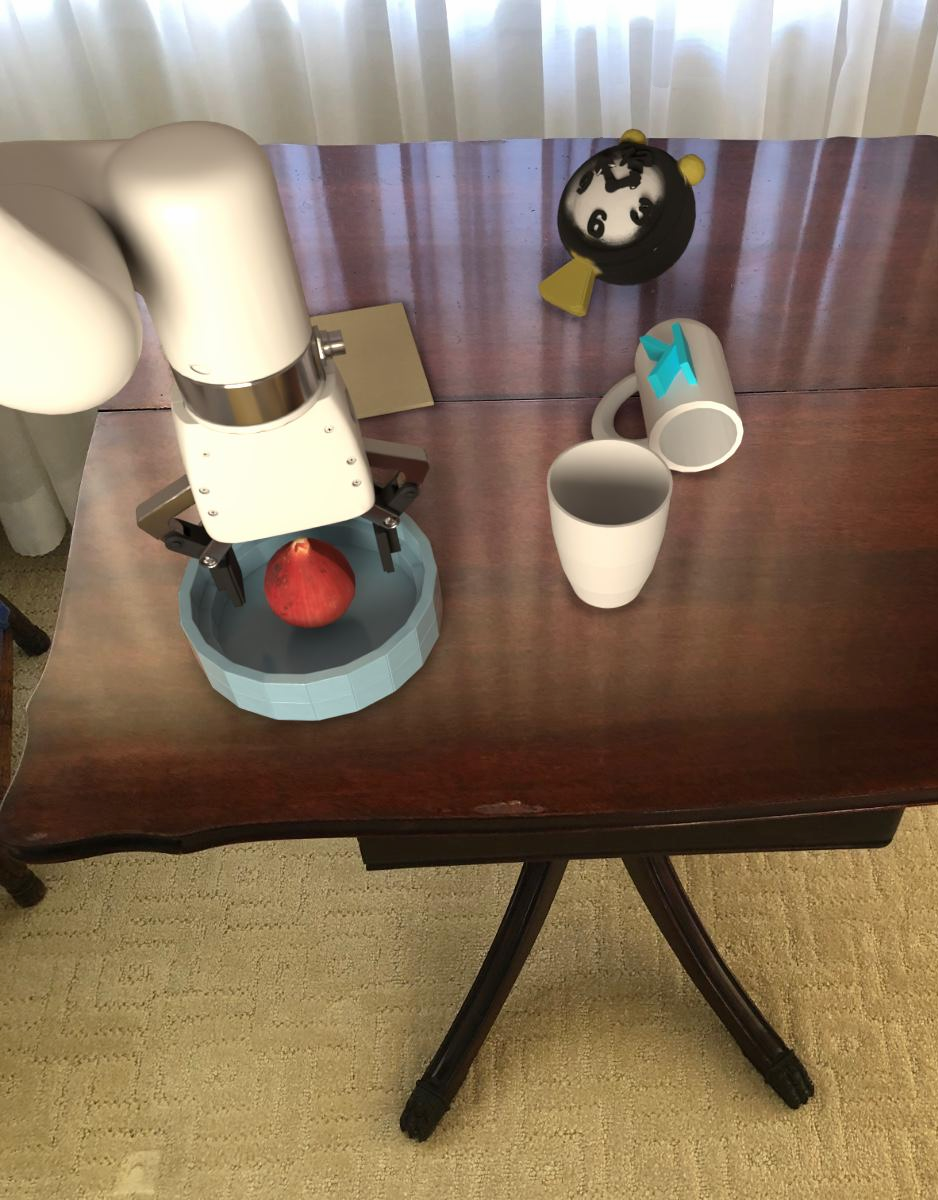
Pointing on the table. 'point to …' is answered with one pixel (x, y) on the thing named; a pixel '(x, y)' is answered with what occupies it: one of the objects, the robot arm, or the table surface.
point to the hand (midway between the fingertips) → (313, 573)
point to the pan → (322, 654)
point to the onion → (309, 583)
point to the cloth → (378, 360)
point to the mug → (679, 397)
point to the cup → (608, 516)
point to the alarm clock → (623, 219)
